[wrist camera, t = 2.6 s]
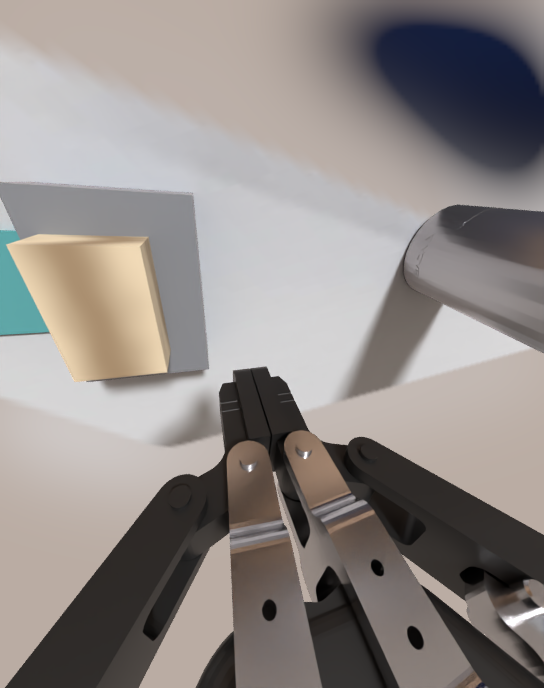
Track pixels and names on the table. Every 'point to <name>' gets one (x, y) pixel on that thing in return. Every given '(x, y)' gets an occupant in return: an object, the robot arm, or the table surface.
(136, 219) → the grey rectangular block
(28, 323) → the teal rubber mat
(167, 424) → the table surface
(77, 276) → the maple tile
